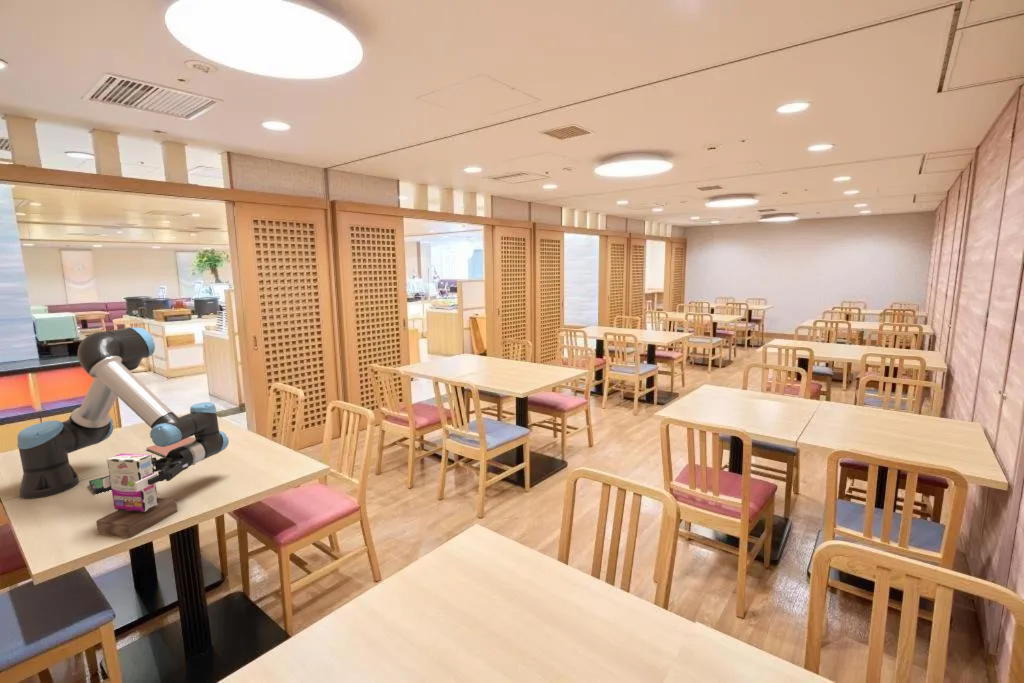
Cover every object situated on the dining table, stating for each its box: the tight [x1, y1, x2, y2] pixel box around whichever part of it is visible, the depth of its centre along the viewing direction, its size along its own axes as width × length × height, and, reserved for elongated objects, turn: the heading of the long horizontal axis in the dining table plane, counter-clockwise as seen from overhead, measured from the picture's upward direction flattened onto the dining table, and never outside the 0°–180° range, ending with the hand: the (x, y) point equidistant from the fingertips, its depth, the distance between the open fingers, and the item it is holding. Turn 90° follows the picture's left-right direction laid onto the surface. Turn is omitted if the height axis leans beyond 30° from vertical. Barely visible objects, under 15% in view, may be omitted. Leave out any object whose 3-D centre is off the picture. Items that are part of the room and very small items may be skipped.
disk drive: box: [88, 475, 112, 495], centre depth 171 cm, size 10×3×15 cm
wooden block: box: [95, 497, 178, 538], centre depth 144 cm, size 12×15×4 cm
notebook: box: [146, 436, 195, 458], centre depth 203 cm, size 27×17×2 cm, turn 60°
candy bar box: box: [106, 453, 159, 512], centre depth 143 cm, size 11×5×16 cm, turn 80°
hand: (119, 485), depth 139 cm, fingers closed on candy bar box, 11 cm apart
